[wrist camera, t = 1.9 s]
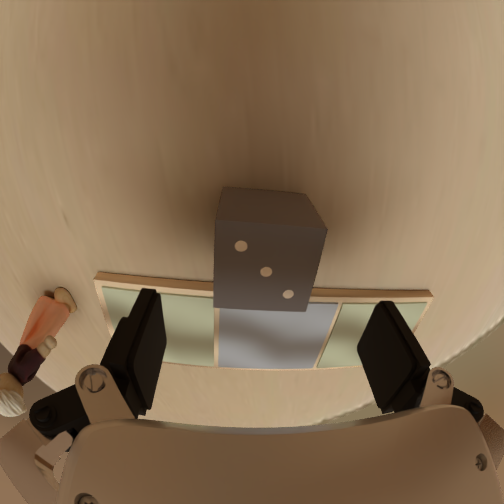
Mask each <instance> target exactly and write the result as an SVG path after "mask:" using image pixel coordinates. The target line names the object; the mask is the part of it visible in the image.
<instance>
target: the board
mask: <svg viewBox="0 0 504 504" xmlns="http://www.w3.org/2000/svg"><path fill="white" fill-rule="evenodd" d="M93 280H94V284H95V287H96V291H97V295H98V298H99V301H100V305H101V308H102V311H103V314H104V317H105V320H106V323H107V326H108V329H109V332H110V335H111V338H112V336H113V334H114V332H115V329H116V327H117V325H118V323H119V321H120V319H121V318H122V317H128V316H129V314H130V312H131V309H132V307H133V305H134V303H135V301H136V299H137V297H138V295H139V293H140V291H141V289H142V288H149V289H156V292H157V293H160V294H161V301H162V309H163V317H164V324H165V330H166V337H167V345H166V349H165V353H164V357H163V361H162V363H170V364H178V365H187V366H197V367H209V368H223V369H242V370H316V369H335V368H349V367H360V366H363V365H362V363H361V360H360V358H359V355H358V352H357V345H358V342H359V340H360V338H361V336H362V334H363V332H364V330H365V328H366V325H367V323H368V321H369V319H370V316H371V314H372V312H373V310H374V307H375V305H376V304H378V303H379V302H380V301H393V302H394V304H395V305H396V307H397V308H398V310H399V312H400V313H401V315H402V316H403V318H404V319H405V321H406V323H407V324H408V326H409V328H410V329H411V331H412V332H413V334H414V332H415V330H416V329H417V327H418V325H419V324H420V322H421V320H422V319H423V317H424V315H425V313H426V311H427V310H428V308H429V306H430V304H431V302H432V300H433V298H434V296H433V295H432V294H431V292H430V291H429V290H355V289H323V288H313V289H312V292H311V296H310V299H309V303H308V306H307V310H306V312H285V311H260V310H241V309H225V308H213V282H200V281H187V280H175V279H164V278H153V277H142V276H132V275H122V274H113V273H104V272H98V273H97V275H96V276H95V278H94V279H93Z"/></svg>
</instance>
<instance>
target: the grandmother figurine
mask: <svg viewBox="0 0 504 504" xmlns="http://www.w3.org/2000/svg"><path fill="white" fill-rule="evenodd" d="M54 298H55V299H53V298H52V297H47V296H41V297H40V298H39V299H38V301H37V303H36V304H35V306H34V308H33V310H32V312H31V314H30V316H29V319H28V321H27V324H26V327H25V330H24V332H23V335H22V338H21V341H20V346H19V347H18V349H17V351H16V353H15V355H14V356H13V358H12V359H11V361H10V363H9V365H8V373H2V374H0V414H1V415H3V416H9V417H14V416H19V415H20V414H22V413H24V412H26V410H27V408H26V406H25V405H24V401H23V388H22V386H23V385H24V384H25V383H27V382H29V381H31V380H32V379H33V377H34V376H35V374H36V373H37V371H38V369H39V367H40V365H41V364H42V363H43V362H44V361H45V359H46V357H47V356H48V355H49V354H50V352H51V349H53V348H55V347H56V345H57V341H56V339H55V338H54V337H55V336H56V334H57V333H58V331H59V330H60V328H61V327H62V326H63V324H64V323H65V322H66V320H67V318H68V317H69V315H70V314H69V313H73V312H75V311H76V309H77V307H76V305H75V303H74V301H73V299H72V297H71V295H70V294H69V292H68V291H67V290H66V289H64V288H57V289H56V290H55V292H54Z"/></svg>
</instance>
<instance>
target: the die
mask: <svg viewBox="0 0 504 504" xmlns="http://www.w3.org/2000/svg"><path fill="white" fill-rule="evenodd" d="M327 230H328V229H327V227H326V226H325V224H324V222H323V221H322V219H321V217H320V216H319V214H318V213H317V211H316V210H315V208H314V206H313V205H312V203H311V202H310V200H309V199H308V197H307V196H306V194H299V193H290V192H280V191H270V190H259V189H247V188H233V187H223V190H222V194H221V198H220V202H219V206H218V211H217V215H216V219H215V243H214V281H213V308H225V309H241V310H260V311H285V312H306V310H307V306H308V303H309V299H310V296H311V292H312V289H313V285H314V281H315V278H316V274H317V270H318V266H319V262H320V258H321V254H322V250H323V246H324V242H325V238H326V234H327Z"/></svg>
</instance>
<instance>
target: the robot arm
mask: <svg viewBox="0 0 504 504" xmlns="http://www.w3.org/2000/svg"><path fill="white" fill-rule="evenodd" d="M166 345H167V337H166V330H165V324H164V317H163V309H162V301H161V294H160V293H157V292H156V289H149V288H142V289H141V291H140V293H139V295H138V297H137V299H136V301H135V303H134V305H133V307H132V309H131V312H130V314H129V316H128V317H122V318H121V319H120V321H119V323H118V325H117V327H116V329H115V332H114V334H113V336H112V338H111V340H110V343H109V345H108V347H107V349H106V352H105V354H104V356H103V358H102V361H101V363H100V365H97V364H92V365H87V366H85V367H83V368H82V369H81V370H80V371H79V372H78V373H77V375H76V378H75V384H74V385H72V386H70V387H68V388H66V389H63V390H61V391H59V392H57V393H55V394H52V395H50V396H48V397H45V398H43V399H40V400H38V401H37V402H36V403H34V404H33V406H32V407H31V409H30V414H29V418H28V419H27V420H25V419H22V420H21V421H20V422H19V423H18V424H17V425H15V426H14V427H13V428H12V429H11V430H10V431H9V432H7V433H6V434H5V435H4V436H3V437H2V438H1V439H0V465H1V466H2V468H3V470H4V471H5V473H6V474H7V475H8V477H9V479H10V480H11V482H12V483H13V485H14V486H15V487H16V489H17V490H18V491H19V493H20V494H21V495H22V497H23V498H24V499H25V501H26V502H27V503H28V504H504V501H503V496H502V491H501V487H500V483H499V479H498V475H497V472H496V470H497V468H498V466H499V464H500V462H501V460H502V457H503V455H504V429H503V428H501V427H500V426H499V425H498V424H497V423H496V422H495V421H494V420H493V419H492V418H491V417H490V416H489V415H487V414H485V415H483V413H484V410H483V406H482V404H481V403H480V402H479V400H477V399H476V398H474V397H472V396H470V395H468V394H466V393H464V392H462V391H460V390H459V389H457V388H455V387H454V380H453V377H452V376H451V374H450V373H449V372H448V371H447V370H445V369H444V368H441V367H435V368H432V369H431V370H430V368H429V366H430V365H431V363H430V362H429V360H428V358H427V356H426V355H425V353H424V351H423V349H422V348H421V346H420V344H419V343H418V341H417V339H416V337H415V336H414V334H413V332H412V331H411V329H410V328H409V326H408V324H407V323H406V321H405V319H404V318H403V316H402V315H401V313H400V312H399V310H398V308H397V307H396V305H395V304H394V302H393V301H380V302H379V303H378V304H376V305H375V307H374V310H373V312H372V314H371V316H370V319H369V321H368V323H367V325H366V328H365V330H364V332H363V334H362V336H361V338H360V340H359V342H358V345H357V352H358V355H359V358H360V360H361V363H362V365H363V368H364V371H365V373H366V376H367V379H368V381H369V384H370V387H371V389H372V392H373V395H374V398H375V401H376V403H377V406H378V408H381V411H382V414H385V413H389V412H392V411H393V410H394V413H392V414H387V415H382V416H377V417H372V418H366V419H360V420H355V421H347V422H340V423H332V424H323V425H312V426H299V427H278V428H236V427H216V426H202V425H191V424H181V423H172V422H164V421H155V420H146V419H138V415H144V416H145V415H146V410H147V409H148V410H150V409H151V407H152V403H153V398H154V394H155V389H156V385H157V381H158V377H159V373H160V369H161V365H162V361H163V357H164V353H165V349H166ZM64 452H69V453H68V456H67V459H66V462H65V465H64V469H63V472H62V476H61V480H60V484H59V483H58V481H57V480H56V478H55V477H54V473H53V468H54V465H55V464H56V462H57V461H59V460H60V457H59V456H60V455H61V454H63V453H64ZM92 496H93V497H92Z"/></svg>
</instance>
